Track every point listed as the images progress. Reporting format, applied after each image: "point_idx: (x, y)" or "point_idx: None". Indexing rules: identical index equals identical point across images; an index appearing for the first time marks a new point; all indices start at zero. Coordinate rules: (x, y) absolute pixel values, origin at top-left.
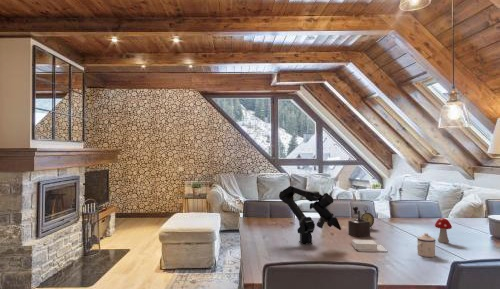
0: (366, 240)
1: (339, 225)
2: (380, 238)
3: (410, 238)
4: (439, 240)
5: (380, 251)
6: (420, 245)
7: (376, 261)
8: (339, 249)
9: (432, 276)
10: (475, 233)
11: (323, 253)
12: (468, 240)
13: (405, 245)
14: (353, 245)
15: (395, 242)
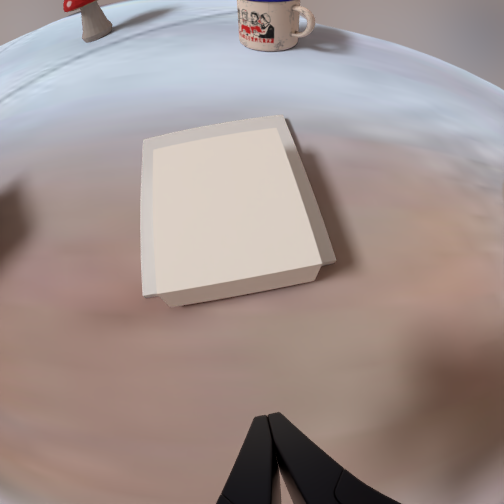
0: (171, 183)
1: (325, 455)
2: (14, 164)
3: (39, 89)
4: (97, 34)
5: (292, 142)
6: (290, 16)
7: (473, 181)
8: (336, 407)
9: (481, 86)
10: (38, 33)
11: (467, 473)
12: None
13: (132, 78)
14: (228, 295)
15: (82, 108)
